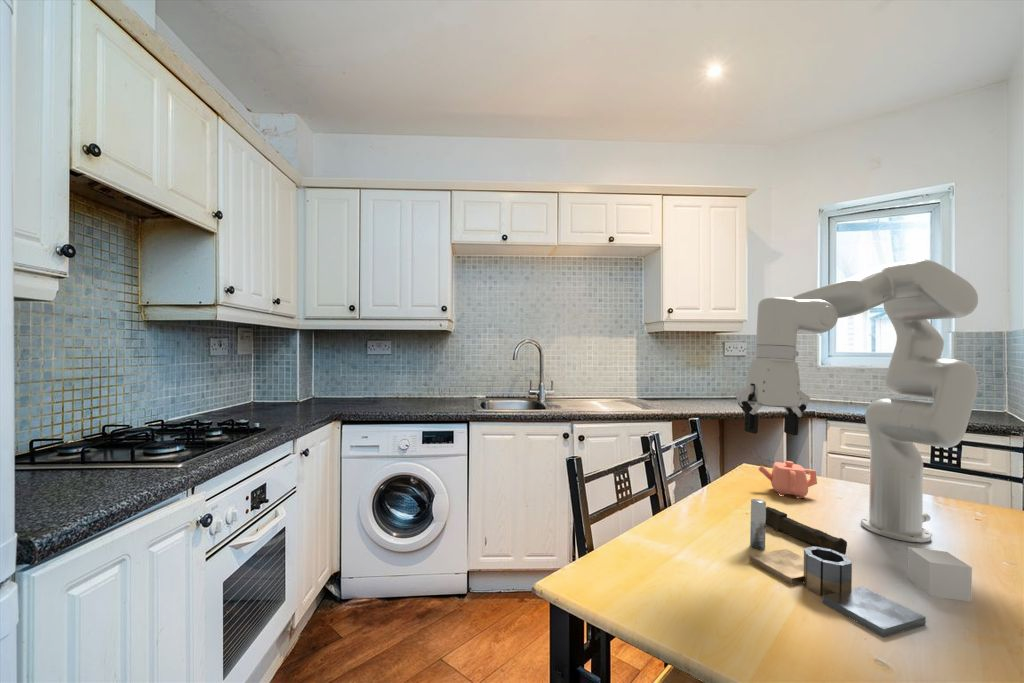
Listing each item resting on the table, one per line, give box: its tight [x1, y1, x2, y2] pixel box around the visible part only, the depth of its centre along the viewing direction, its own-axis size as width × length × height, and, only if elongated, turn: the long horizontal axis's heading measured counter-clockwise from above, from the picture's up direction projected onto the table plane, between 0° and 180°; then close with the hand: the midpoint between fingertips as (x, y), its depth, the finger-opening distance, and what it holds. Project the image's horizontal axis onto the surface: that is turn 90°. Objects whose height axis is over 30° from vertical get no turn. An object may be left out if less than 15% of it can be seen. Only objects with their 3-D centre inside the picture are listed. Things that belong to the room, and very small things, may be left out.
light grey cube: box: [907, 546, 973, 603], centre depth 78 cm, size 6×6×6 cm
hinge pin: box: [749, 498, 767, 552], centre depth 93 cm, size 3×3×10 cm
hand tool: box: [766, 506, 848, 555], centre depth 98 cm, size 19×4×5 cm, turn 18°
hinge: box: [748, 545, 927, 638], centre depth 77 cm, size 10×24×6 cm, turn 19°
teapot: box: [757, 460, 818, 499], centre depth 129 cm, size 12×12×10 cm
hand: (770, 433), depth 93 cm, fingers open, 9 cm apart
